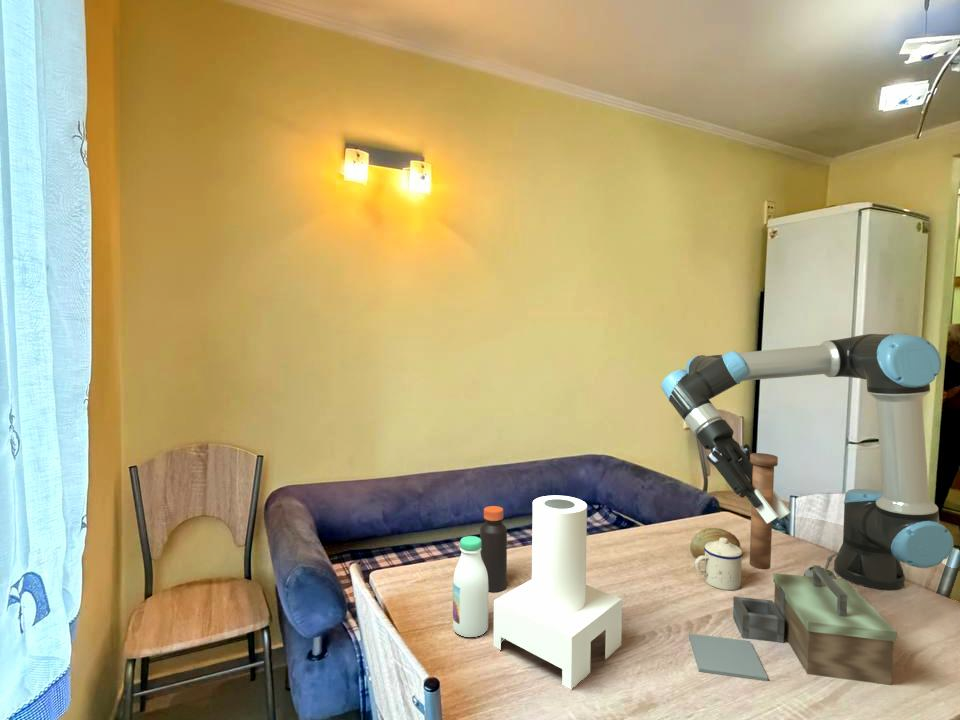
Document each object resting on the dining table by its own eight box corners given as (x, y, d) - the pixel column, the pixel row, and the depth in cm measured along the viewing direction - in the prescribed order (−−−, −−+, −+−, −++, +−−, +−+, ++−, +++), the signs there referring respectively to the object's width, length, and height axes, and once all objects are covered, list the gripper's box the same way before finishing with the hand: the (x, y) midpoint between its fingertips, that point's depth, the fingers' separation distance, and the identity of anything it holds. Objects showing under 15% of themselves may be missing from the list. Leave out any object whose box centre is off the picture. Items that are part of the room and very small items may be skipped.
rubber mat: (749, 643, 110) (749, 641, 110) (767, 681, 99) (767, 677, 98) (688, 636, 113) (688, 633, 113) (698, 671, 101) (699, 668, 101)
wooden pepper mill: (769, 561, 116) (773, 453, 115) (776, 572, 111) (781, 459, 110) (743, 558, 118) (747, 452, 116) (750, 569, 113) (753, 458, 111)
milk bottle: (492, 623, 118) (493, 535, 116) (481, 642, 110) (481, 548, 109) (460, 616, 120) (460, 530, 119) (447, 635, 113) (447, 543, 112)
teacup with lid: (728, 573, 142) (730, 531, 141) (749, 590, 133) (751, 545, 132) (686, 575, 141) (687, 533, 140) (704, 592, 132) (705, 547, 131)
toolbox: (843, 625, 117) (846, 561, 116) (894, 686, 97) (898, 609, 96) (730, 612, 122) (732, 551, 122) (756, 667, 102) (758, 595, 101)
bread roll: (750, 561, 150) (751, 533, 149) (702, 566, 147) (703, 537, 146) (727, 547, 159) (728, 521, 159) (683, 551, 156) (683, 525, 156)
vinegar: (475, 589, 133) (476, 511, 131) (485, 578, 139) (485, 503, 138) (501, 595, 130) (501, 515, 129) (510, 582, 136) (510, 506, 135)
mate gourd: (807, 593, 131) (809, 534, 131) (844, 605, 126) (847, 543, 125) (798, 604, 126) (800, 542, 125) (837, 617, 121) (839, 553, 120)
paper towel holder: (493, 647, 109) (494, 504, 107) (547, 612, 122) (548, 484, 121) (571, 690, 96) (573, 528, 94) (621, 645, 110) (624, 503, 108)
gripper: (720, 432, 131) (787, 518, 118) (676, 440, 122) (742, 534, 109) (741, 414, 126) (813, 501, 113) (697, 421, 117) (769, 517, 104)
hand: (778, 517), depth 111 cm, fingers closed on wooden pepper mill, 4 cm apart
